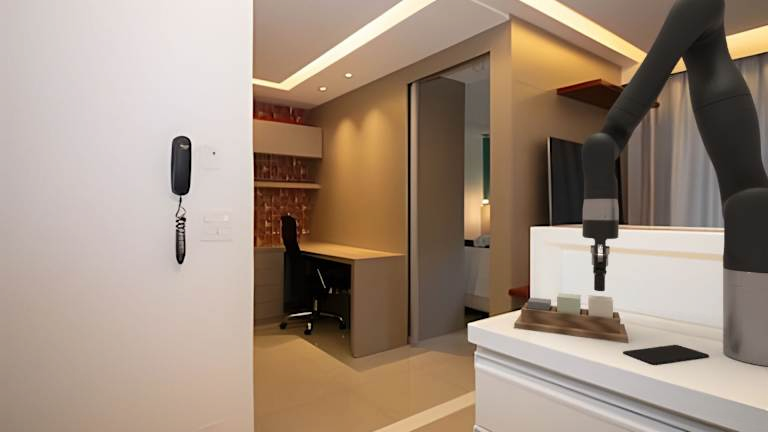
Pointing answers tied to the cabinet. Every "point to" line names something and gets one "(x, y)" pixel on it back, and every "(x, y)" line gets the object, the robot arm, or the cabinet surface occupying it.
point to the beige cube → (600, 306)
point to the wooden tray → (572, 324)
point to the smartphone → (665, 354)
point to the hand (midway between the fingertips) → (599, 290)
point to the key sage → (569, 303)
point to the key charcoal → (539, 304)
